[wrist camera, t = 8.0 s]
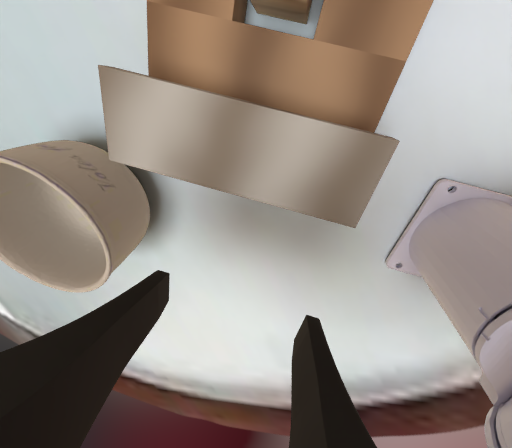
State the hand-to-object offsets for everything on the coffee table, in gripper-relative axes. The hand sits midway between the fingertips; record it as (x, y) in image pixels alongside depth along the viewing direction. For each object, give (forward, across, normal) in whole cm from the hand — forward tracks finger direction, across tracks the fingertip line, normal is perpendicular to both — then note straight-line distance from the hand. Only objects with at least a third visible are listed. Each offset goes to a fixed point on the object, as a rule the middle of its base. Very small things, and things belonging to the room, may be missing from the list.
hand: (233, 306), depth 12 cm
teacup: (+10, +16, +2) cm, 19 cm away
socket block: (+10, +2, -11) cm, 15 cm away
